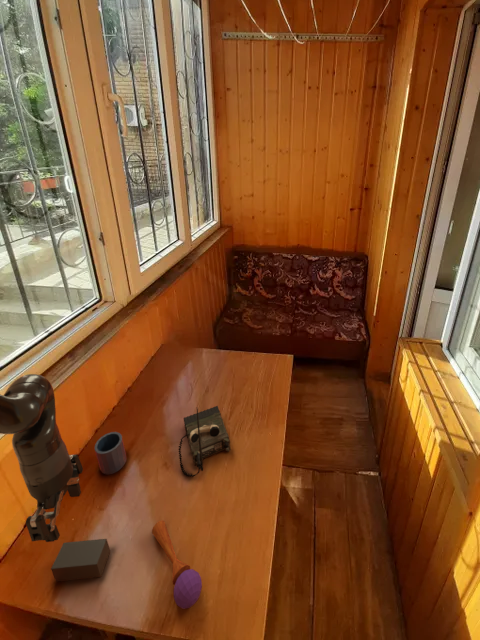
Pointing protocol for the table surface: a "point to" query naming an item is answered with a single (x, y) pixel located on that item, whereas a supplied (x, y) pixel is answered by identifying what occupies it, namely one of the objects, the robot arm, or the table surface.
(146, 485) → the table surface
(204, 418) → the radio
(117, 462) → the cup
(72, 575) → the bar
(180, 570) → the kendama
